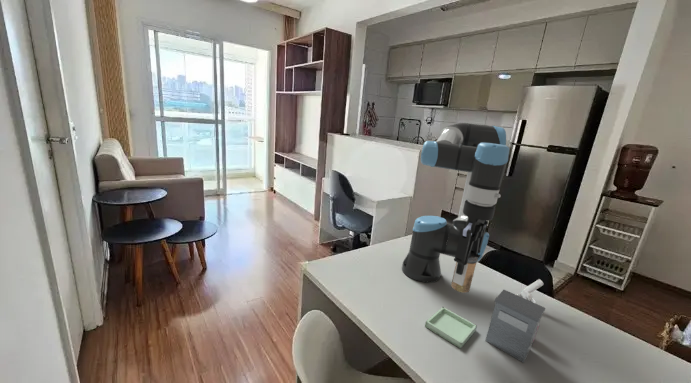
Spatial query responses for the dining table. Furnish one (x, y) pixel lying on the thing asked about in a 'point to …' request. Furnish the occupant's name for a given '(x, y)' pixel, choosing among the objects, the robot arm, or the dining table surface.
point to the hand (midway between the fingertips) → (462, 279)
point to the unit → (514, 324)
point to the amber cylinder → (468, 277)
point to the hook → (530, 290)
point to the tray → (451, 327)
